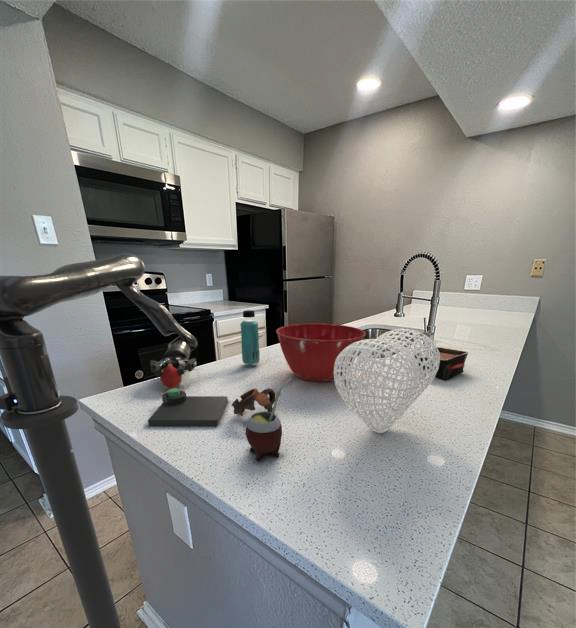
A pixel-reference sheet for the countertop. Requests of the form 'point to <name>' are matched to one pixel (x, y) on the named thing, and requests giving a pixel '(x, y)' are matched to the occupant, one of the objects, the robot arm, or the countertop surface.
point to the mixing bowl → (316, 348)
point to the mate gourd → (265, 431)
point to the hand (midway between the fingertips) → (168, 373)
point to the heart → (414, 387)
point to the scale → (189, 410)
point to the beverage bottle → (249, 339)
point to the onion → (170, 377)
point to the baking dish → (448, 363)
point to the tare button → (173, 392)
